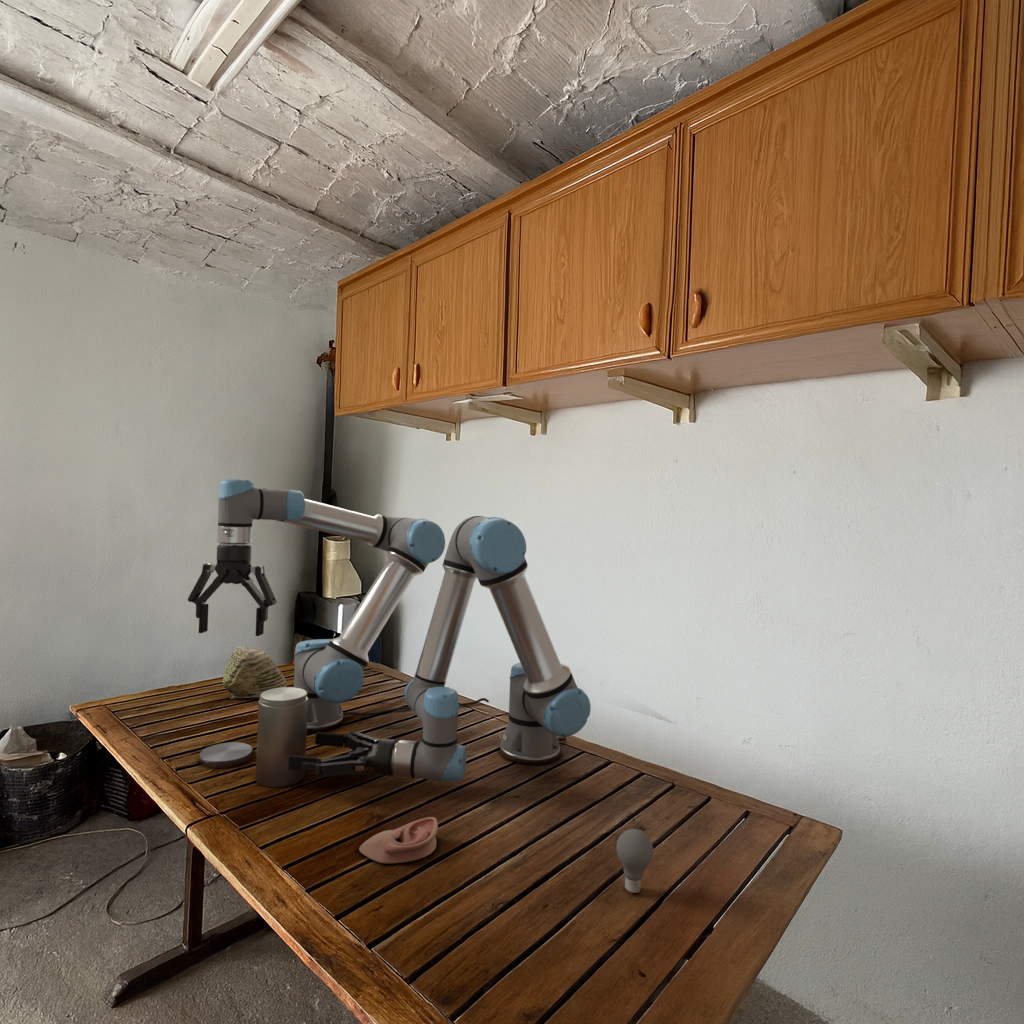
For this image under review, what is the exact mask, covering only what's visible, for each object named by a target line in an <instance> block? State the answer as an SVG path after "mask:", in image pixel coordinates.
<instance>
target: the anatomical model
mask: <svg viewBox="0 0 1024 1024" xmlns="http://www.w3.org/2000/svg"><path fill="white" fill-rule="evenodd" d="M438 830H439V822H438V819H437V818H436V817H434V816H428V817H423V818H419V819H417V820H414V821H410V822H409V823H407V824H404V825H401V826H398V827H397V828H395V829H388V830H383V831H381V832H378V833H376V834H374V835H372V836H371V837H369V838H368V839H366V840H365V841H364V842H363V843H362V844H361V845H360V846H359V848H358V850H359V852H360V853H361V854H362V855H364V857H366V858H368V859H369V860H372V861H374V862H377V863H380V864H399V863H400V864H401V863H409V862H413V861H417V860H420V859H422V858H426V857H427V856H429V855H431V854H432V853H433V852H435V850H436V847H437V837H436V836H437V834H438Z"/></svg>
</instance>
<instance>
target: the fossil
mask: <svg viewBox="0 0 1024 1024" xmlns="http://www.w3.org/2000/svg"><path fill="white" fill-rule="evenodd" d="M222 676H223V677H222V685H223V687H224V688H225V690H226V691H228V693H229V698H230V699H250V698H260V695H261V693H263V692H264V691H267V690H270V689H274V688H282V687H288V686H287V680H286V678H285V676H284V674H283V673H282V672H281V669H279V668H278V667H277V665H276V663H275V662H274V660H273V659H272V658H271V657H270V656H269V655H268V654H267V653H266V652H265V650H264V649H263V648H260V647H258V648H251V647H247V646H246V647H245V646H238V647H237V648H236V649H235V650H233V651H232V653H231V656H230V657H229V659H228V660H227V663H226V666H225V668H224V671H223V675H222Z"/></svg>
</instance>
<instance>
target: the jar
mask: <svg viewBox="0 0 1024 1024" xmlns="http://www.w3.org/2000/svg"><path fill="white" fill-rule="evenodd" d="M306 695H307V691H305V690H303V689H300V688H294V686H293V687H292V686H287V687H282V688H274V689H270V690H267V691H264V692H263V693H261V695H260V697H259V700H258V707H257V708H258V709H257V732H256V733H257V734H256V763H255V782H256V783H257V784H258V785H260V786H263V787H267V788H283V787H288V786H291V785H294V784H297V783H299V782H301V781H302V780H303V779H304V778H305V776H306V771H305V770H295V769H288V764H289V756H290V755H297V756H306V755H307V733H308V732H307V706H308V698H307V696H306Z"/></svg>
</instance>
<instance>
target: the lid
mask: <svg viewBox="0 0 1024 1024" xmlns="http://www.w3.org/2000/svg"><path fill="white" fill-rule="evenodd" d="M252 757H253V747H252V746H251V745H250V744H247V743H245V742H239V741H238V742H237V741H234V742H233V741H232V742H231V741H229V742H222V743H217V744H214V745H211V746H207V747H205V748H204V749H202V751H200V752H199V764H200V765H202V766H203V767H205V768H212V769H226V768H232V767H233V768H234V767H236V766H239V765H242V764H245V763H247V762H249V760H251V758H252Z"/></svg>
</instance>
